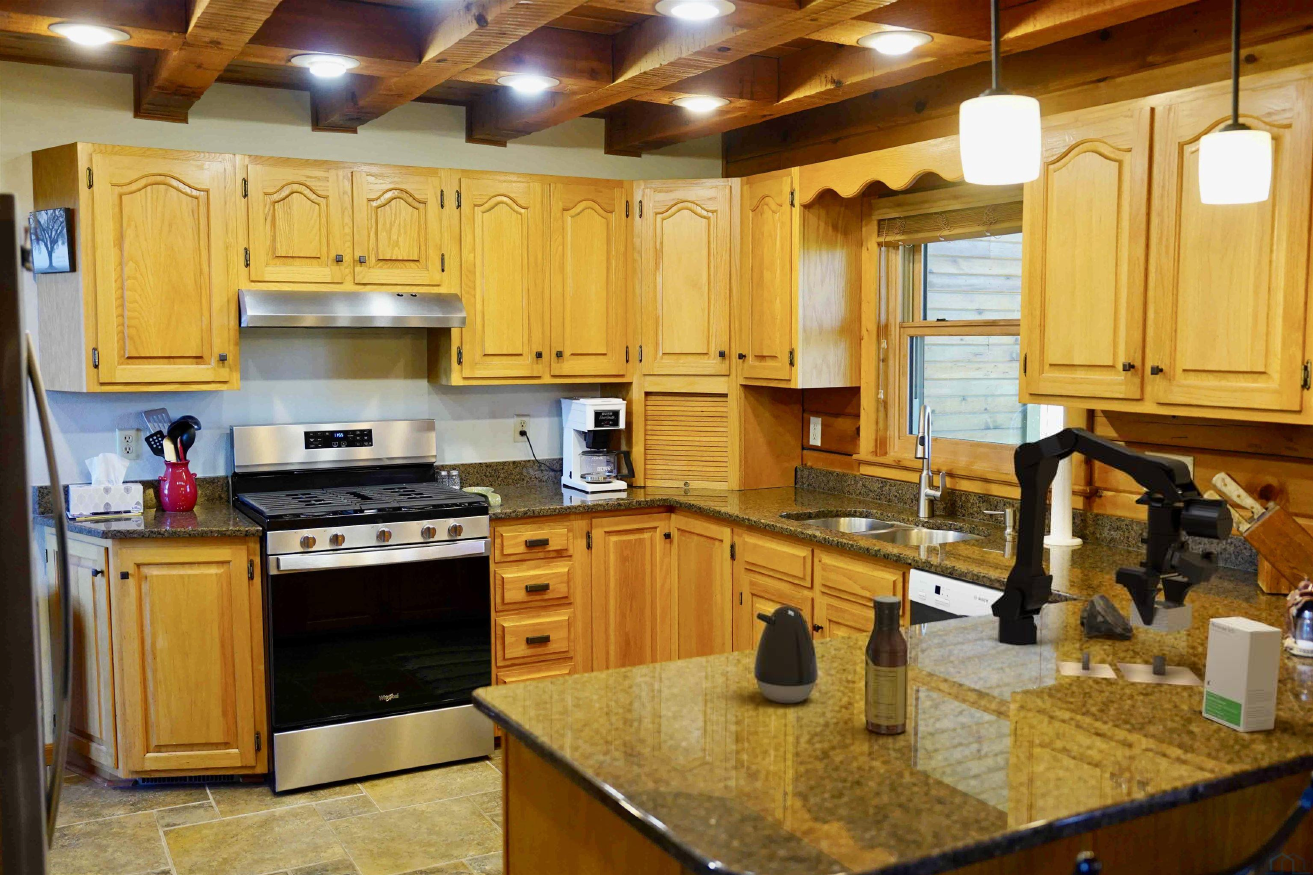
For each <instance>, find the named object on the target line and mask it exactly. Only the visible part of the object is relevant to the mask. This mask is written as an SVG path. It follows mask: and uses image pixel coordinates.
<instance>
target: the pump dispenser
mask: <svg viewBox="0 0 1313 875" xmlns="http://www.w3.org/2000/svg"><path fill="white" fill-rule="evenodd" d="M756 619H757V620H759V621H761V622H763V623H765V625H764V628H763V630H762V633H761V635H760V639H759V642H758V646H757V649H756V654H755V660H754V668H753V669H754V671H753V672H754V673H753V676H754V679H755V680H756V684H757V687H758V689H759V691H760V692H761V694H762V695H763V696H764V697H765V698H766V699H767V700H770V701H772V702H774V703H779V704H797V703H800V702H802V701H804V700H806V699H807V698H808V697H809V696H810V695H811V694H812V692H813V690H814V689H815V688H814V687H815V685H816V682H817V681H818V676H819V674H818V672H819V670H818V662H817V653H816V648H815V643H814V639H813V637H812V634H811V631H810V627H809V625H808V622H807V620H806V619H805V617H804V615H803V613H802V612H801V611H800V610H799V609H797V608H796V607H795V606H792V605H781V606H779V607H778V608H775V610H774V611H772V613H771V614H770V615H769V614H766V613H762V612H758V613H757V614H756Z"/></svg>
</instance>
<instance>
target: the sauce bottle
mask: <svg viewBox="0 0 1313 875" xmlns="http://www.w3.org/2000/svg"><path fill="white" fill-rule="evenodd" d="M872 602H873V603H872V604H873V605H872V606H873V610H874V612H873V613H874V616H873V617H874V619H873V620H874V621H873V628H872V630H871V633H870V636H869V638H868V642H867V644H866V646H865V647H866V648H865V650H864V651H865V653H864V654H865V655H864V656H865V657H864V660H865V661H864V662H865V663H864V664H865V665H864V718H865V727H866V728H867V730H869V731H872V732H875V733H878V734H884V735H889V736H890V735H896V734H901V733H903V732H904V731H906V729H907V719H908V703H909V702H908V700H909V699H908V698H909V697H908V696H909V695H908V694H909V692H908V690H909V688H908V687H909V682H908V681H909V660H908V648H909V647H908V642H907V641H906V638H905V637H904V635H903V633H902V631H901V629H900V628H901V622H900V620H901V618H900V617H901V613H900V612H901V609H902V598H900V597H899V596H898V597H897V596H895V595H894V596H892V595H880V596H879V595H878V596H875V597H874V598H873V601H872Z"/></svg>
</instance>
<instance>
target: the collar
mask: <svg viewBox="0 0 1313 875" xmlns="http://www.w3.org/2000/svg"><path fill="white" fill-rule="evenodd" d="M1129 614H1130V615H1129V622H1130V625H1131V626H1134V627H1138V628H1143V629H1147V630H1152V631H1154V632H1155V631H1156V632H1160V633H1165V634H1168V633H1174V632H1179V631H1183V630H1189V629H1192V616H1193V615H1192V614H1193V605H1192V604H1188V603H1184V602H1183V603H1179V602H1174V601H1169V600H1165V598H1158V597H1155V604H1154V611H1153V618H1152V622H1151V625H1150V626H1147V625H1144V623H1143V621H1142V619H1141V617H1140V614H1139V612H1138V610H1137V608H1136V606H1135V603H1134V601H1133V600H1132V601H1130V612H1129Z"/></svg>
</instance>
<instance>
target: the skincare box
mask: <svg viewBox="0 0 1313 875" xmlns="http://www.w3.org/2000/svg"><path fill="white" fill-rule="evenodd" d="M1282 635H1283V629H1280V628H1278V627H1274V626H1271V625H1268V624H1265V623H1263V622H1260V621H1256V620H1252V619H1248V618H1246V617H1242V616H1231V617H1218V618H1209V627H1208V640H1207V649H1206V650H1207V651H1206V665H1205V676H1204V685H1205V686H1203V687H1204V689H1203V700H1202V712H1201V713H1202V716H1203V718H1207V719H1209V720H1211V721H1214V722H1216V723H1219V724H1221V725H1223V726H1226V727H1228V728H1231V729H1234V730H1236V731H1238V732H1240V733H1250V732H1257V731H1267V730H1273V729H1274V728H1275V718H1276V706H1277V692H1278V682H1279V672H1280V670H1279V669H1280V661H1281V648H1282V638H1283V636H1282Z"/></svg>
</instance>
